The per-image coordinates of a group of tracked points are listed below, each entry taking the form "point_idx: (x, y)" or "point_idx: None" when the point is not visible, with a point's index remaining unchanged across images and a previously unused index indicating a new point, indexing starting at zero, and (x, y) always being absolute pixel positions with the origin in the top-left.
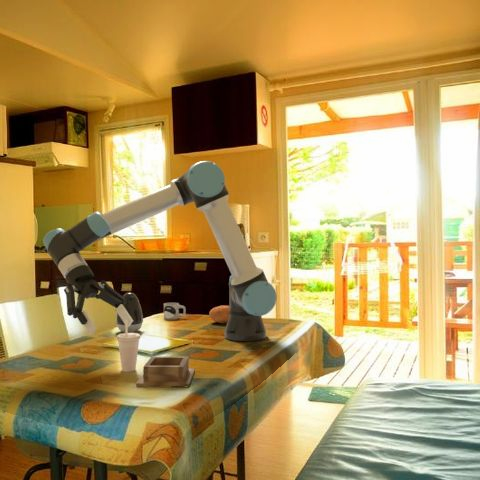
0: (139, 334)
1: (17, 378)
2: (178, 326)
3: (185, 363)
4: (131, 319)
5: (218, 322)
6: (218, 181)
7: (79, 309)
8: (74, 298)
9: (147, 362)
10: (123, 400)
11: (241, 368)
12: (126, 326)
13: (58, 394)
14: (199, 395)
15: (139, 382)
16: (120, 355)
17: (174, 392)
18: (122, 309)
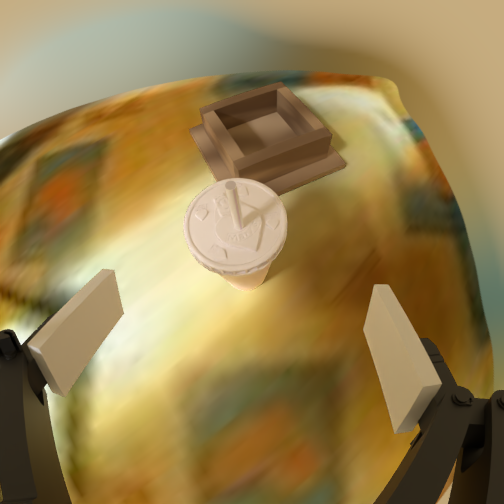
0: (204, 190)
1: None
2: None
3: (250, 92)
4: (103, 274)
5: None
6: None
7: (466, 396)
8: (491, 499)
9: (296, 145)
10: (404, 148)
11: (145, 94)
12: (239, 201)
13: (466, 275)
14: (309, 77)
15: (336, 161)
16: (269, 266)
17: (322, 104)
18: (64, 331)
